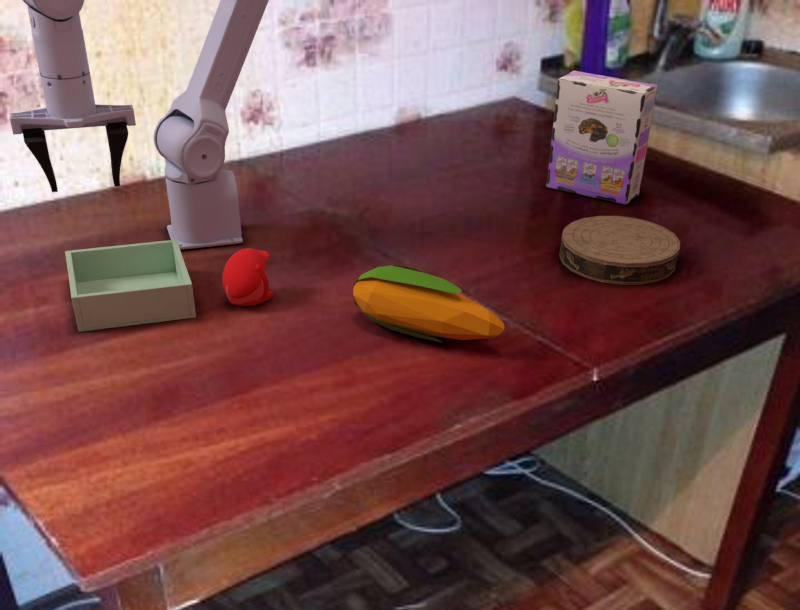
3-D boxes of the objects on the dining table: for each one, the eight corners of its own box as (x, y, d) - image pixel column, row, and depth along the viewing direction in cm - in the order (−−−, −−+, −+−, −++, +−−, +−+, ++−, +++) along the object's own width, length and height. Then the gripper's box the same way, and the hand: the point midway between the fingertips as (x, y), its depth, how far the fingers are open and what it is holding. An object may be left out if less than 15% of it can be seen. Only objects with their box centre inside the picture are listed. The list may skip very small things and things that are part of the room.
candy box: (640, 195, 154) (660, 83, 144) (625, 206, 150) (645, 93, 140) (560, 176, 160) (574, 67, 149) (544, 187, 156) (557, 76, 145)
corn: (371, 243, 119) (522, 281, 112) (373, 299, 124) (517, 339, 117) (338, 269, 114) (494, 311, 107) (342, 327, 120) (490, 370, 112)
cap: (265, 315, 121) (261, 269, 117) (218, 310, 121) (213, 265, 118) (281, 286, 127) (278, 242, 123) (236, 282, 127) (232, 238, 124)
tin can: (584, 289, 128) (587, 267, 126) (543, 240, 140) (545, 219, 138) (696, 279, 131) (701, 258, 129) (646, 232, 143) (650, 212, 141)
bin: (180, 271, 130) (176, 239, 127) (196, 317, 120) (192, 283, 117) (71, 283, 126) (64, 250, 123) (78, 332, 117) (71, 297, 114)
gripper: (0, 86, 112) (27, 203, 121) (130, 78, 116) (147, 192, 124) (0, 69, 117) (25, 183, 126) (124, 62, 121) (141, 173, 130)
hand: (85, 186), depth 126 cm, fingers open, 7 cm apart
